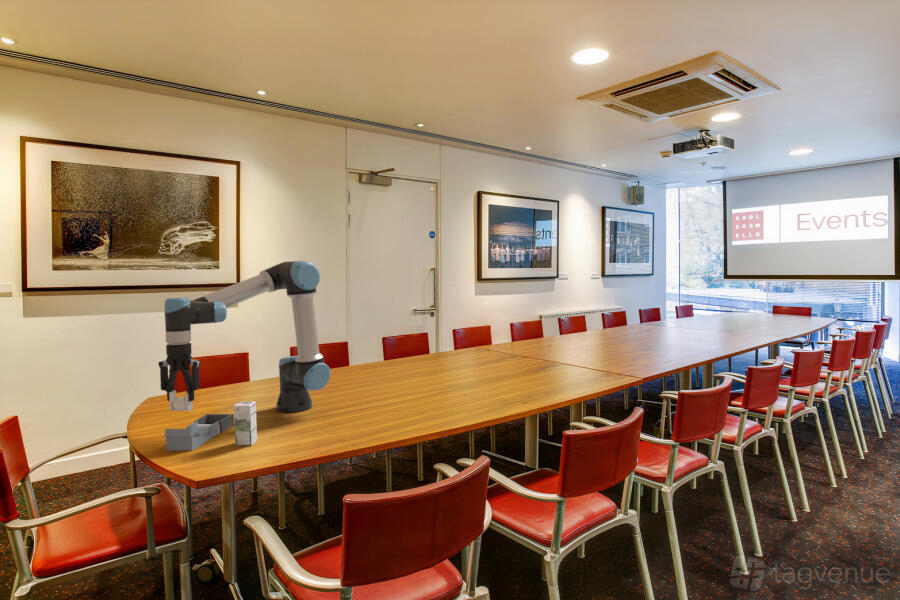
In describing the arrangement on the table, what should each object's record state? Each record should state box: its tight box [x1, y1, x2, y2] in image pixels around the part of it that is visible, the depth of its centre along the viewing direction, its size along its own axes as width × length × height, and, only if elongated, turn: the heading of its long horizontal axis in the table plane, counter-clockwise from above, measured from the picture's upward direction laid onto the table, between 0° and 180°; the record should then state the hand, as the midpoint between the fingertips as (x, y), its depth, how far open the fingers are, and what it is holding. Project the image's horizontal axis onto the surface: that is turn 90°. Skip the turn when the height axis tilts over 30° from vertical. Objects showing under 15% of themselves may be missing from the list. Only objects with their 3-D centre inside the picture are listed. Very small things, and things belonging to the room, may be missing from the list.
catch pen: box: [193, 413, 234, 434], centre depth 187 cm, size 9×11×4 cm
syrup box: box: [233, 400, 258, 447], centre depth 170 cm, size 6×6×14 cm
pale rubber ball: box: [173, 396, 186, 412], centre depth 166 cm, size 5×5×5 cm
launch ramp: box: [163, 421, 221, 452], centre depth 173 cm, size 19×9×8 cm, turn 178°
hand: (181, 410), depth 166 cm, fingers closed on pale rubber ball, 5 cm apart
